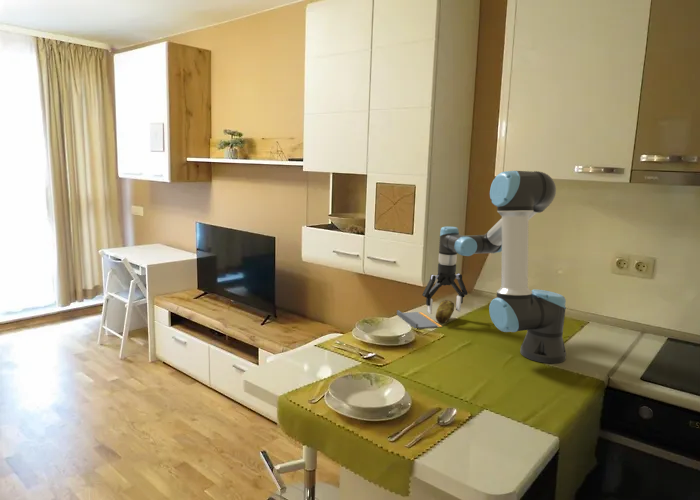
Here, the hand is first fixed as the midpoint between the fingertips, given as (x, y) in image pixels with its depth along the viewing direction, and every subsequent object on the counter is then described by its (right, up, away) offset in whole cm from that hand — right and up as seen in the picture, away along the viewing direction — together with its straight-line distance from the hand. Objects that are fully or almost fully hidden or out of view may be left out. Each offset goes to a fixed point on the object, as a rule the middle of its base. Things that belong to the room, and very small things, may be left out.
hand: (443, 311), depth 219 cm
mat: (-12, -4, -1) cm, 12 cm away
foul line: (-6, -3, +1) cm, 7 cm away
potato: (0, -4, 0) cm, 4 cm away
